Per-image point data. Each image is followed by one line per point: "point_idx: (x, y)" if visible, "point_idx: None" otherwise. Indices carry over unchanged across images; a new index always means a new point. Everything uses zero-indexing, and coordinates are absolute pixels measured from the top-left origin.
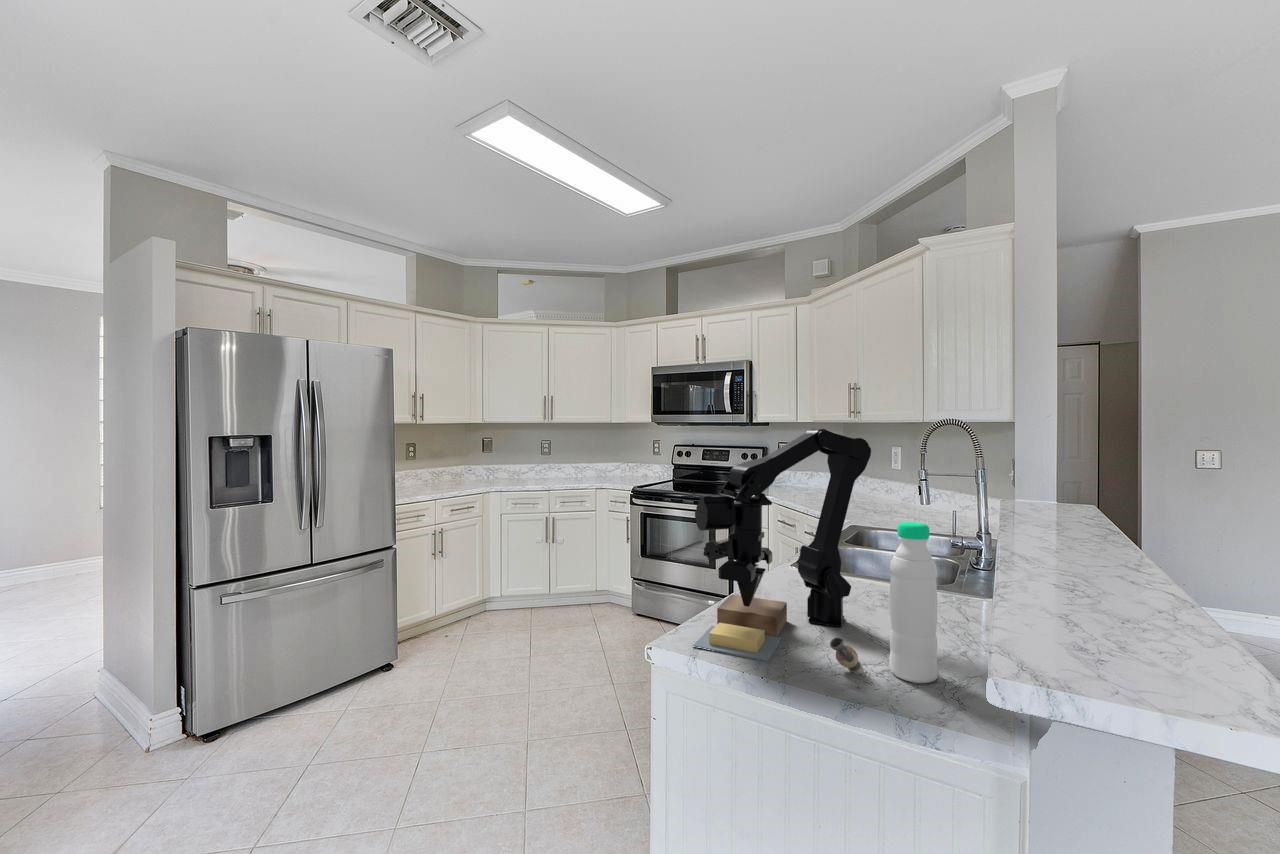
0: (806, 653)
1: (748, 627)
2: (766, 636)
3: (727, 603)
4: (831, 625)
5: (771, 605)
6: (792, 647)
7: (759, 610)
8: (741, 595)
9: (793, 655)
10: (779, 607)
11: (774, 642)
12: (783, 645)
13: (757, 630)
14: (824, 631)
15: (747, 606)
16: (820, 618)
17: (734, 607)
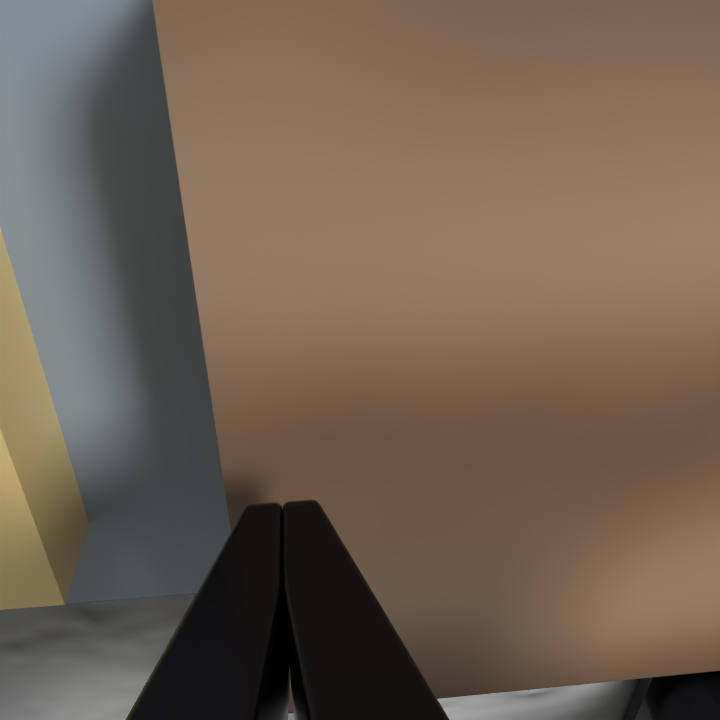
0: (104, 711)
1: (21, 479)
2: (198, 509)
3: (557, 68)
4: (626, 717)
5: (633, 600)
6: (146, 647)
7: (394, 562)
8: (163, 665)
9: (12, 678)
10: (580, 664)
11: (108, 579)
12: (143, 605)
13: (1, 566)
14: (532, 698)
15: (500, 414)
16: (676, 704)
17: (370, 265)
